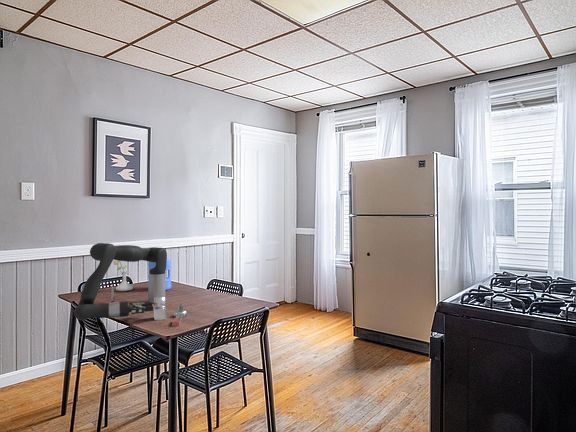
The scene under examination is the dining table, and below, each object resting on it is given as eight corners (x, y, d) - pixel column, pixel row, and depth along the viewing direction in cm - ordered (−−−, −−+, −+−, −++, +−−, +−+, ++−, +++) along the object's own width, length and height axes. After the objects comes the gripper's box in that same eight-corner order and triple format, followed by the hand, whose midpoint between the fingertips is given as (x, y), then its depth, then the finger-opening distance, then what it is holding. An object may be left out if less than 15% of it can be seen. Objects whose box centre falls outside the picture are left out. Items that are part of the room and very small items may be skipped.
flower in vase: (126, 288, 296) (126, 253, 296) (136, 290, 290) (136, 254, 289) (109, 291, 286) (109, 255, 285) (119, 293, 279) (119, 256, 279)
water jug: (149, 292, 284) (149, 251, 283) (147, 288, 298) (147, 249, 298) (172, 290, 290) (172, 250, 290) (169, 286, 305) (169, 248, 304)
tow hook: (116, 309, 237) (120, 305, 246) (115, 287, 236) (120, 283, 245) (100, 310, 235) (105, 305, 245) (100, 287, 235) (105, 284, 244)
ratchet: (182, 325, 203) (182, 312, 203) (168, 326, 202) (168, 312, 202) (187, 314, 225) (187, 301, 225) (175, 314, 224) (175, 302, 224)
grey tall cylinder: (154, 320, 213) (154, 298, 213) (153, 317, 218) (153, 296, 218) (166, 319, 215) (166, 297, 215) (164, 316, 221) (164, 295, 220)
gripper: (118, 305, 203) (153, 302, 209) (118, 299, 216) (151, 296, 222) (118, 320, 203) (153, 317, 209) (118, 313, 216) (151, 310, 222)
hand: (152, 306), depth 216 cm, fingers open, 8 cm apart
